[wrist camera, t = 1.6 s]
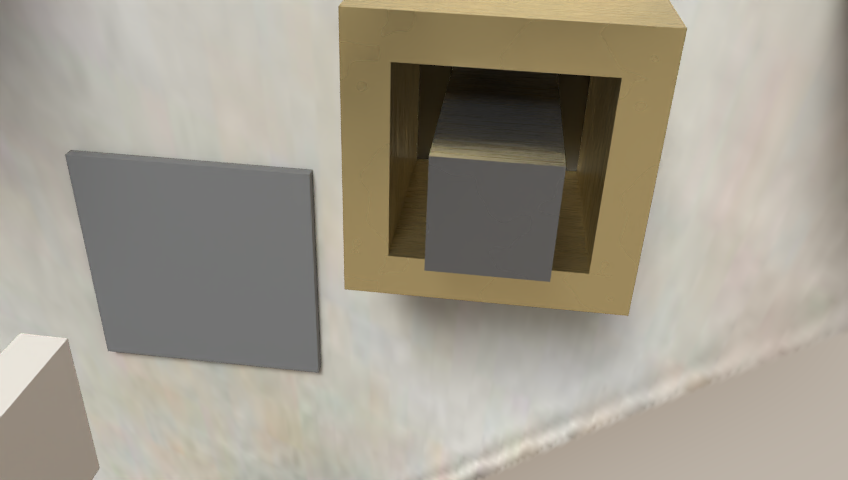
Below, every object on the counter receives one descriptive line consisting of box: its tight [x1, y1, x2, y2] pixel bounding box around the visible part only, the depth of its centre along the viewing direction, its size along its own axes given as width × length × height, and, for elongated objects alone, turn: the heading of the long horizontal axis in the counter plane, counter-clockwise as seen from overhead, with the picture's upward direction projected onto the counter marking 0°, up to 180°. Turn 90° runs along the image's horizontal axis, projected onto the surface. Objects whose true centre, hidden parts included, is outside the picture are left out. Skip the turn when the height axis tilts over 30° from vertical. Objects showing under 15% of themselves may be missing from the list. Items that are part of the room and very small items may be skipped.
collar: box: [338, 0, 687, 316], centre depth 23 cm, size 8×8×6 cm
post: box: [424, 66, 566, 282], centre depth 22 cm, size 3×3×9 cm
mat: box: [65, 150, 321, 372], centre depth 30 cm, size 9×9×1 cm
